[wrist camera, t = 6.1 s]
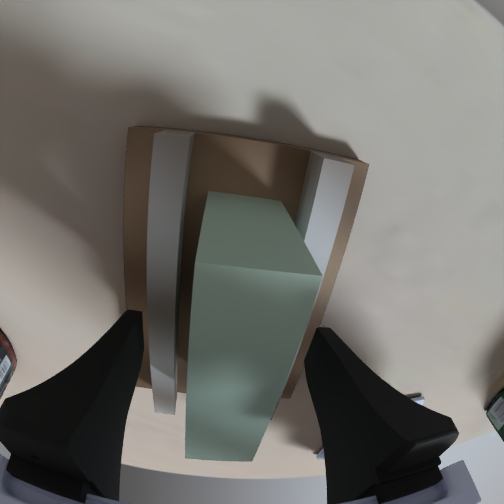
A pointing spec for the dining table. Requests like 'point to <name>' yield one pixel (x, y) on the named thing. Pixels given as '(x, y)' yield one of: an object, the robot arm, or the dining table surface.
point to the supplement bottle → (6, 363)
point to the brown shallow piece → (190, 221)
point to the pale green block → (243, 322)
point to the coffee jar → (497, 414)
